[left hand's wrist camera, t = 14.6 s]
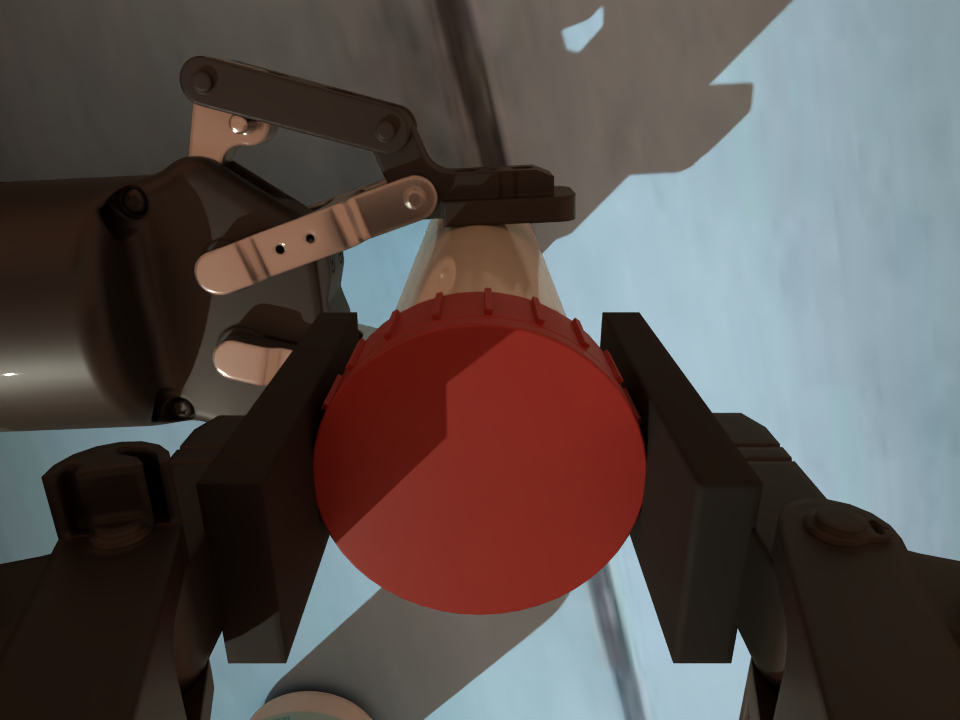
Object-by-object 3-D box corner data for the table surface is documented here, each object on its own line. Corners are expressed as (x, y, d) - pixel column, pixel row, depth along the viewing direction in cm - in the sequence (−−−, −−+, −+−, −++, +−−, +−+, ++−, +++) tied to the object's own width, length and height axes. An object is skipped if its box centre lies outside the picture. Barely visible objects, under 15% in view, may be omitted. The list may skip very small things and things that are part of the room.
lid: (667, 499, 12) (695, 559, 11) (407, 589, 13) (397, 656, 12) (569, 236, 11) (585, 261, 9) (275, 357, 11) (241, 400, 10)
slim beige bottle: (461, 312, 28) (437, 603, 12) (405, 223, 26) (295, 418, 11) (552, 261, 27) (655, 499, 11) (499, 166, 26) (530, 284, 10)
